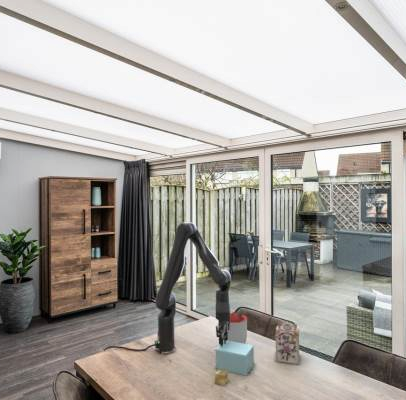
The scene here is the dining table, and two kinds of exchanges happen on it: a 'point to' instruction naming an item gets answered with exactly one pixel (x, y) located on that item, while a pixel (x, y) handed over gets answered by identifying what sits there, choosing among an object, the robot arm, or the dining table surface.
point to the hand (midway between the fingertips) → (223, 342)
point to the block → (221, 377)
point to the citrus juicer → (237, 328)
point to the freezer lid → (234, 347)
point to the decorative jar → (287, 343)
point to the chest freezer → (235, 362)
